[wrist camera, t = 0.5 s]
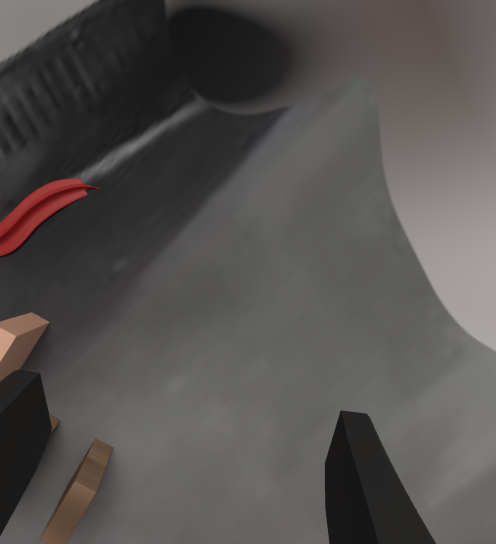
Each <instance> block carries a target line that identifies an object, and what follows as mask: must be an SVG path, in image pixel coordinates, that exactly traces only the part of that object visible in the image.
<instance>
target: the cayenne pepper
mask: <svg viewBox="0 0 496 544" xmlns="http://www.w3.org/2000/svg"><path fill="white" fill-rule="evenodd" d="M89 188H96V187H92V186H88V185H84V184H82V180H81V179H63V180H57V181H54V182H51V183H49V184H46V185H44V186H43V187H41V188H39V189H37V190H36V191H34V192H33V193H32V194H30V195H29V196H28V197H26V198H25V199H24V200H23V201H22V202H21V203H20V204H19V205H18V206H17V207H16V208H15V209H14V210H13V211H12V212H11V213H10V214H9V215H8V216H7V217H6V218H5V219H4V220H3V221H2V222H1V223H0V256H3V255H6V254H9V253H11V252H12V251H14V250H16V249H17V248H18V247H19V246H20V245H21V244H22V243H23V242H24V241H25V240H26V239H27V238H28V237H29V236H30V234H31V233H32V232H33V231H34V230H35V229H36V228H37V226H38V225H40V224H41V223H42V222H43V221H44V220H46V219H47V218H48V217H50V216H51V215H52V214H54V213H55V212H57V211H58V210H59V209H61V208H63V207H65V206H66V205H68V204H70V203H72V202H74V201H76V200H78V199H80V198H82V197H84V196H86V195H87V193H86V192H85V190H86V189H89ZM96 189H99V188H96Z"/></svg>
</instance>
